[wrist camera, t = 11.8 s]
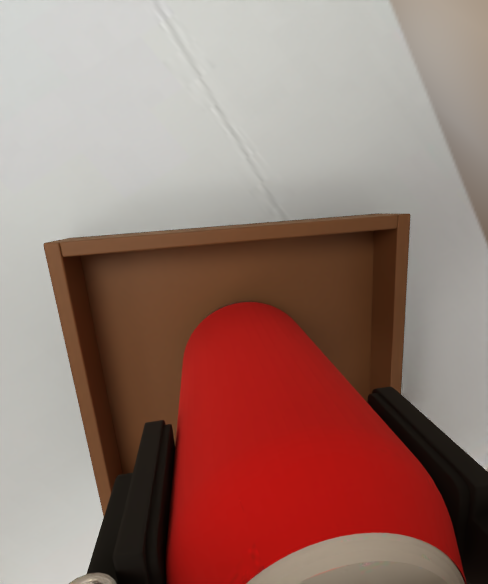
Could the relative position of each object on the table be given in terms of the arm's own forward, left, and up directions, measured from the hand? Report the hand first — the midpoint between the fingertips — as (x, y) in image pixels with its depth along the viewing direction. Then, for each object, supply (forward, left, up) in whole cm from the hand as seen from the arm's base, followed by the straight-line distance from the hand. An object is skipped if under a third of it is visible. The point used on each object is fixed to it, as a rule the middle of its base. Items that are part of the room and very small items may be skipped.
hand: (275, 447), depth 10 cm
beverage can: (0, 0, -7) cm, 7 cm away
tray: (0, 0, -8) cm, 8 cm away
